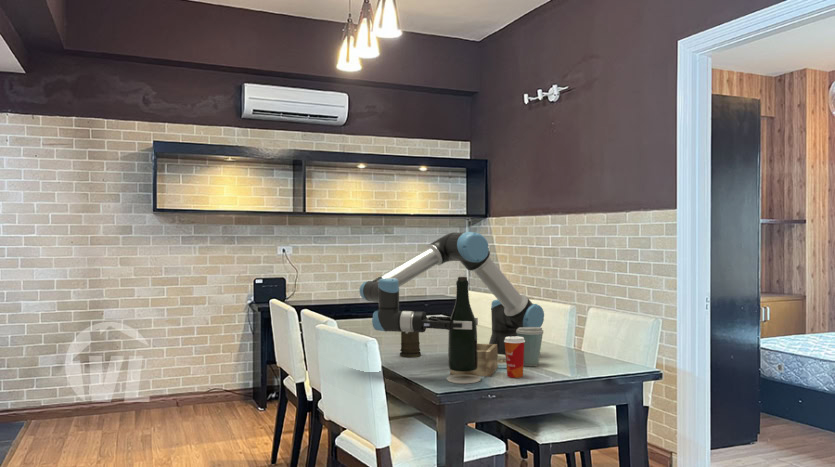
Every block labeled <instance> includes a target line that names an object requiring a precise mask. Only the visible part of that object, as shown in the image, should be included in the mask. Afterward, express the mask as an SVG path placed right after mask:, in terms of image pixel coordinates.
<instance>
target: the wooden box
mask: <svg viewBox="0 0 835 467" xmlns="http://www.w3.org/2000/svg"><path fill="white" fill-rule="evenodd" d="M477 353H478V367H477V369H476V370H474V371H467V372H460V371H453V370H450V369H449V376H452V375H459V374H469V375H476V376H479V377H491V376H492V375H493V374H494V373H495V371H497V369H498V368H499V367H498V366H499V365H498V362H499V360H498V359H499V358H498V357H499V355H498V353H497V344H489V343H477Z"/></svg>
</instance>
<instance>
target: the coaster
mask: <svg viewBox="0 0 835 467" xmlns="http://www.w3.org/2000/svg"><path fill="white" fill-rule="evenodd" d="M481 380H482V376H476V375H469V374H459V375H449V376H447V378H446V381H448V382H449V383H452V384H453V383H454V384H459V385H462V384H464V385H466V384H474V383H475V384H476V383H479V382H481Z"/></svg>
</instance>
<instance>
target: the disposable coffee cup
mask: <svg viewBox="0 0 835 467" xmlns="http://www.w3.org/2000/svg"><path fill="white" fill-rule="evenodd" d="M516 332H517V336H519V337H523V338H524V340H525V342H524V363H523V367H524V366H525V367H537V366H538V365H539V359H540V354H541V346H542V340H543V334H544V329H543V328H542V327H520V328H518V329H517V330H516Z"/></svg>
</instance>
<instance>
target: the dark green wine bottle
mask: <svg viewBox="0 0 835 467" xmlns="http://www.w3.org/2000/svg"><path fill="white" fill-rule="evenodd" d="M455 282H456V283H455V285H456V294H455V296H456V297H455V303H454V307H453V310H452V313H451V315H450V317H451V318H450V321H452V322H453V321H472V330H471V329H453V331H450V329H449V330H448V339H447V340H448V342H447V343H448V344H447V345H448V347H447V348H448V351H447V352H448V353H447V357H448V359H447V364H448V369H449V371H450V370H453V371H460V372H467V371H474V370H476V369H477V367H478V353H477V344H478V331H477V330H478V328H477V327H478V325H476V320H475V318H476V317H475V315H474V312H473V309H472V307H471V304H470V296H469V295H470V294H469V293H470V292H469V280H468V276H458V277H457V280H456V281H455Z"/></svg>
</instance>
